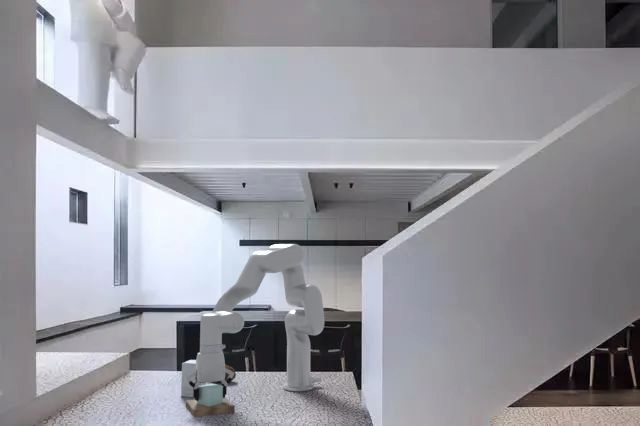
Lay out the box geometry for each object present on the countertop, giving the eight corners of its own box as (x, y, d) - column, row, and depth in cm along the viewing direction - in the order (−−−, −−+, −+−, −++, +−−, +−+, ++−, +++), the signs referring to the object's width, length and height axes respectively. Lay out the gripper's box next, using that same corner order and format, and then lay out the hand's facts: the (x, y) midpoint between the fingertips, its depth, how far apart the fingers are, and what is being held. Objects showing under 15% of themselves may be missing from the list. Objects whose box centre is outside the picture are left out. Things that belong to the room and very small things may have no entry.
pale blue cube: (210, 399, 198) (210, 383, 198) (222, 402, 194) (223, 385, 195) (196, 403, 193) (197, 386, 193) (209, 406, 189) (209, 389, 190)
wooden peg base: (224, 401, 203) (224, 383, 203) (234, 411, 190) (234, 392, 190) (185, 406, 197) (186, 387, 197) (193, 416, 184) (194, 396, 185)
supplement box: (198, 397, 209) (199, 363, 209) (180, 396, 210) (181, 362, 211) (206, 392, 216) (207, 360, 217) (188, 391, 217) (189, 359, 218)
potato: (234, 384, 230) (234, 365, 230) (204, 384, 229) (205, 365, 230) (237, 380, 238) (237, 361, 238) (208, 380, 238) (208, 361, 238)
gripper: (231, 345, 202) (231, 393, 201) (183, 349, 195) (182, 398, 193) (237, 348, 195) (236, 398, 194) (188, 352, 188) (187, 404, 187)
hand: (209, 398), depth 194 cm, fingers closed on pale blue cube, 9 cm apart
